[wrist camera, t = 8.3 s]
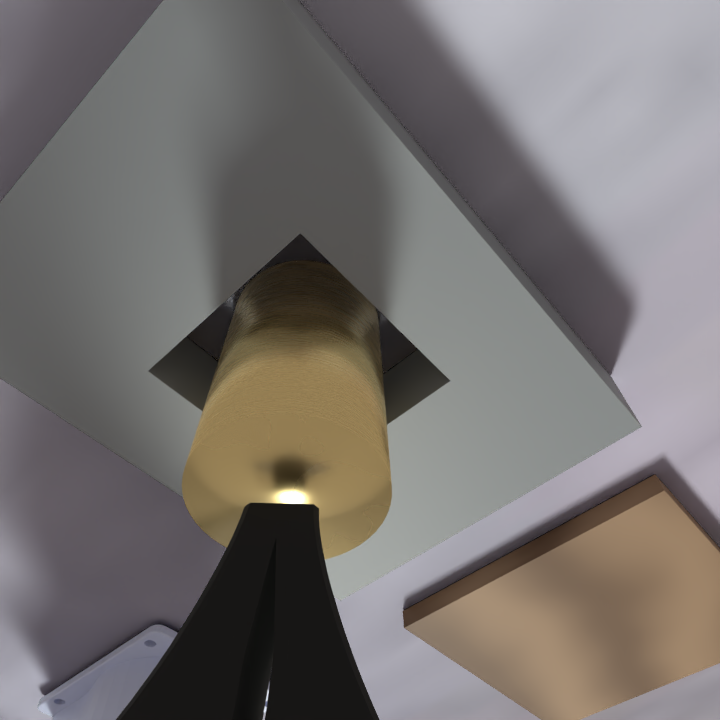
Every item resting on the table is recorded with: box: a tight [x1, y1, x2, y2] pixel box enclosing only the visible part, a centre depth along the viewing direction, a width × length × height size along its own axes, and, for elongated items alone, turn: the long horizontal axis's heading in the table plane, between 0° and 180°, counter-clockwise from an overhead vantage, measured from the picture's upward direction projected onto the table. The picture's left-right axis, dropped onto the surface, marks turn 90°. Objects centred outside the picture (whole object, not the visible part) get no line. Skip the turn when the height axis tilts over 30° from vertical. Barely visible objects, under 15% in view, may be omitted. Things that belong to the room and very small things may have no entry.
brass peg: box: [182, 260, 392, 559], centre depth 16 cm, size 4×4×7 cm
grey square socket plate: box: [0, 0, 642, 601], centre depth 18 cm, size 12×16×2 cm
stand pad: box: [403, 475, 720, 720], centre depth 27 cm, size 12×12×1 cm
